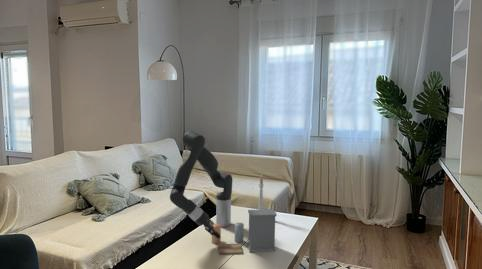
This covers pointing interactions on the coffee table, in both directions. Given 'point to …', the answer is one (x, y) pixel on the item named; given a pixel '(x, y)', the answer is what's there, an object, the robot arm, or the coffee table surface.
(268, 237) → the post
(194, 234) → the coffee table surface
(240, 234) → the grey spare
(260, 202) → the candlestick
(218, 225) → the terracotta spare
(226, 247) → the pad
